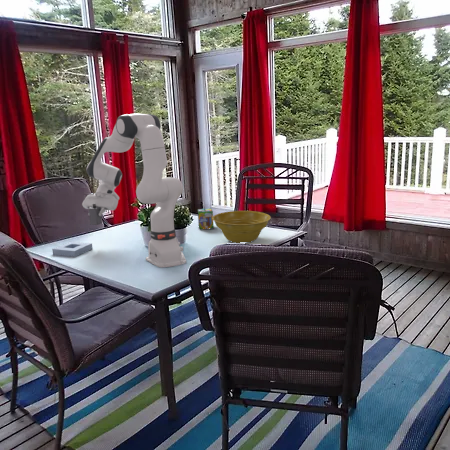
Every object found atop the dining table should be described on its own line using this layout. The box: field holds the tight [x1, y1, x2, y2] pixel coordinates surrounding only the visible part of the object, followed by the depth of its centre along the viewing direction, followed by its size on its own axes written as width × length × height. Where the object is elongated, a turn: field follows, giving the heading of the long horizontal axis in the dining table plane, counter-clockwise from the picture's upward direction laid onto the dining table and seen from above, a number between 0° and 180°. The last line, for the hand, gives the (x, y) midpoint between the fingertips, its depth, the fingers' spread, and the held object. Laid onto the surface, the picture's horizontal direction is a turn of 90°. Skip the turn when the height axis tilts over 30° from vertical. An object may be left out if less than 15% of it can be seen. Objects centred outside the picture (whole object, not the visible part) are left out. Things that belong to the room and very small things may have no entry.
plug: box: [88, 204, 103, 226], centre depth 223 cm, size 4×4×11 cm
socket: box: [52, 241, 94, 258], centre depth 218 cm, size 14×14×3 cm
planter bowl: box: [212, 210, 272, 244], centre depth 230 cm, size 32×32×13 cm
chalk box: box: [197, 204, 215, 230], centre depth 258 cm, size 9×9×15 cm
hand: (94, 215), depth 222 cm, fingers closed on plug, 4 cm apart
